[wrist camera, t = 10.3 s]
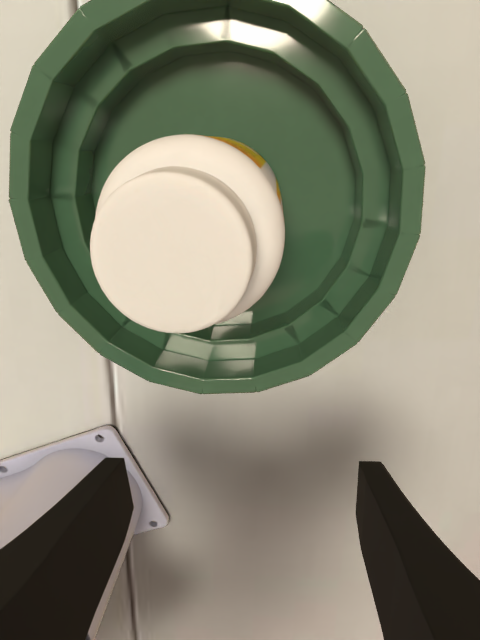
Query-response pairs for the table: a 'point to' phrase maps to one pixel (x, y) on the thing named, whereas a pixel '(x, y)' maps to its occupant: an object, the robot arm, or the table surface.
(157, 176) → the supplement bottle
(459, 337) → the table surface
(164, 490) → the table surface
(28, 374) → the table surface
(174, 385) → the bowl
